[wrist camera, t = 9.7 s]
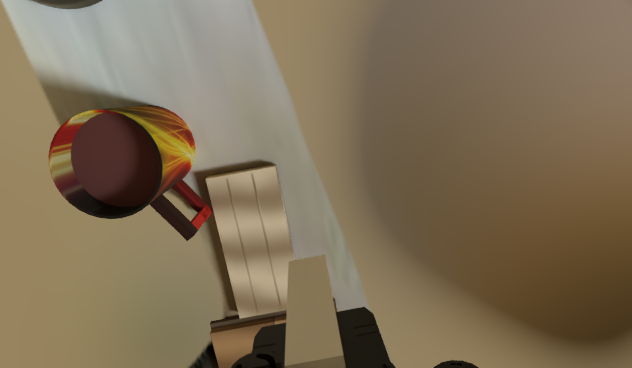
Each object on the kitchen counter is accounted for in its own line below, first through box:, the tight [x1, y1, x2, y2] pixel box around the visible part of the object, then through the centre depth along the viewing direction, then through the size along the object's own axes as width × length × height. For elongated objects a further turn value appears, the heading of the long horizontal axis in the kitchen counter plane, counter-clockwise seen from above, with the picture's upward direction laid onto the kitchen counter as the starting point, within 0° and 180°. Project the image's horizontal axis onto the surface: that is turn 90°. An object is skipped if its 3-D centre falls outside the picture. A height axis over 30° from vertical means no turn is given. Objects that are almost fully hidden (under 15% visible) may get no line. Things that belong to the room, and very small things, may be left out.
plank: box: [206, 164, 295, 319], centre depth 49 cm, size 18×8×2 cm, turn 10°
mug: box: [49, 106, 213, 241], centre depth 42 cm, size 10×14×12 cm
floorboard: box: [210, 299, 337, 368], centre depth 53 cm, size 11×16×2 cm
